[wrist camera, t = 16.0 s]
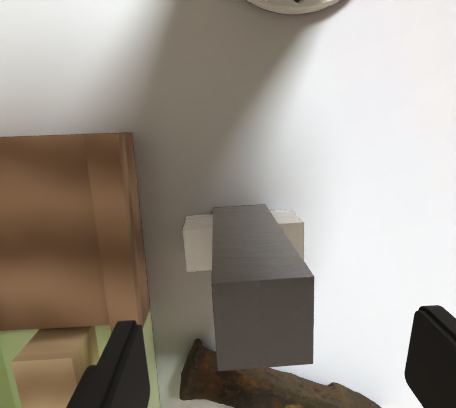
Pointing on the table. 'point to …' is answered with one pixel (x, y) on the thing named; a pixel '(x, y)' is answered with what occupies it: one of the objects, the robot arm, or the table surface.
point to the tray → (16, 340)
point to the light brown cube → (54, 365)
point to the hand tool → (259, 386)
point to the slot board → (70, 232)
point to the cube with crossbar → (255, 284)
